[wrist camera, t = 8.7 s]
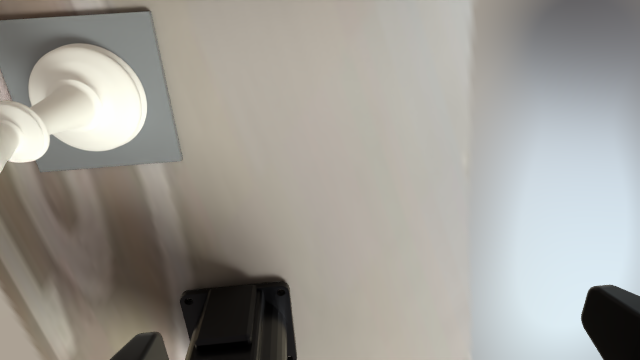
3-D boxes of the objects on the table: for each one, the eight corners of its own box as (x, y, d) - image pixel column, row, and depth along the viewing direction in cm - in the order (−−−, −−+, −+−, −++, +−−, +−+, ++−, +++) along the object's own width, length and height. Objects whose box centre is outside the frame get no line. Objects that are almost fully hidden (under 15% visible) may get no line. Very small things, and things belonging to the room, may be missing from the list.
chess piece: (164, 133, 19) (47, 245, 10) (71, 159, 19) (-133, 295, 10) (117, 29, 17) (-89, 47, 8) (13, 60, 17) (-311, 114, 8)
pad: (182, 158, 20) (181, 161, 19) (43, 169, 19) (40, 172, 19) (150, 11, 17) (148, 11, 17) (-13, 21, 16) (-18, 21, 16)
